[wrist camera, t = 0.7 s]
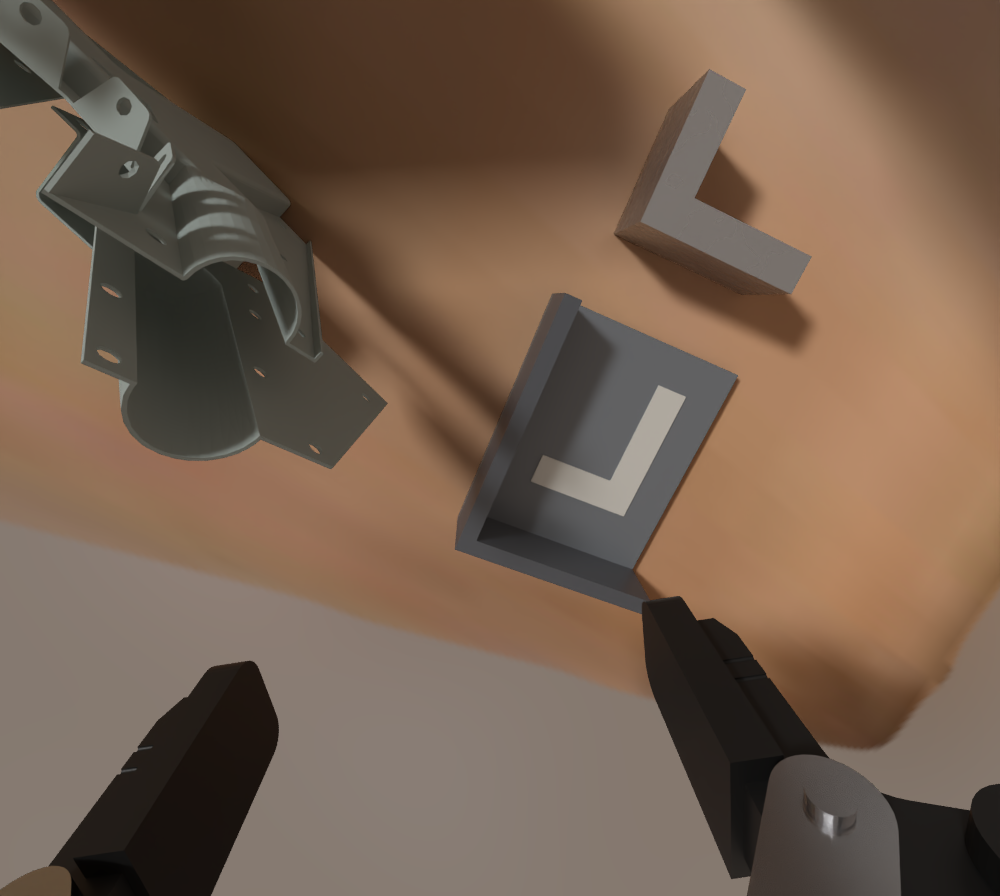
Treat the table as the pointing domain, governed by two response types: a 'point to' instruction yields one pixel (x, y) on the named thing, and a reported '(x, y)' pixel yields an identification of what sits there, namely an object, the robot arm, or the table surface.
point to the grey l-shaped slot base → (588, 453)
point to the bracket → (182, 261)
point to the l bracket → (691, 223)
